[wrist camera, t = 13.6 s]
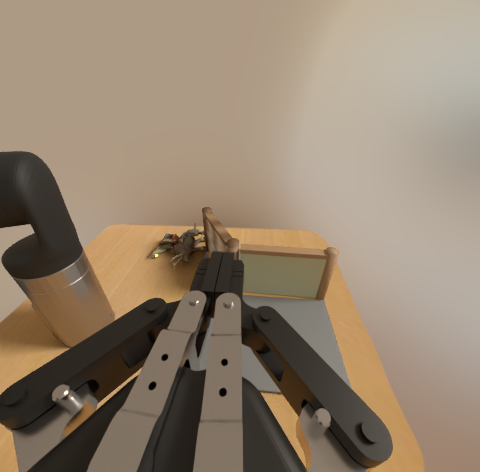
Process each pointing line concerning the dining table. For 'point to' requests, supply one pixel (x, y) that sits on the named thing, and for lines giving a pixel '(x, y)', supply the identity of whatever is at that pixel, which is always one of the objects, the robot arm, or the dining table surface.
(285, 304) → the card
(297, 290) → the fence gate
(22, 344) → the dining table surface
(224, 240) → the post
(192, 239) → the figurine
